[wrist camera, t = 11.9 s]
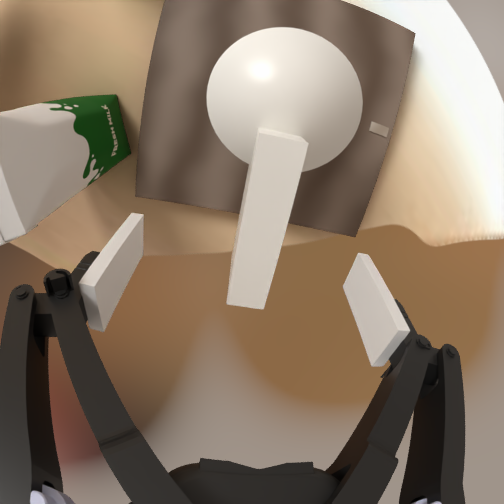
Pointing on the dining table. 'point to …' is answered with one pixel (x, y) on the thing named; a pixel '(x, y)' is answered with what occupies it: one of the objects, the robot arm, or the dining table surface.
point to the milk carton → (54, 156)
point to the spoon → (278, 136)
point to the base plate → (208, 143)
